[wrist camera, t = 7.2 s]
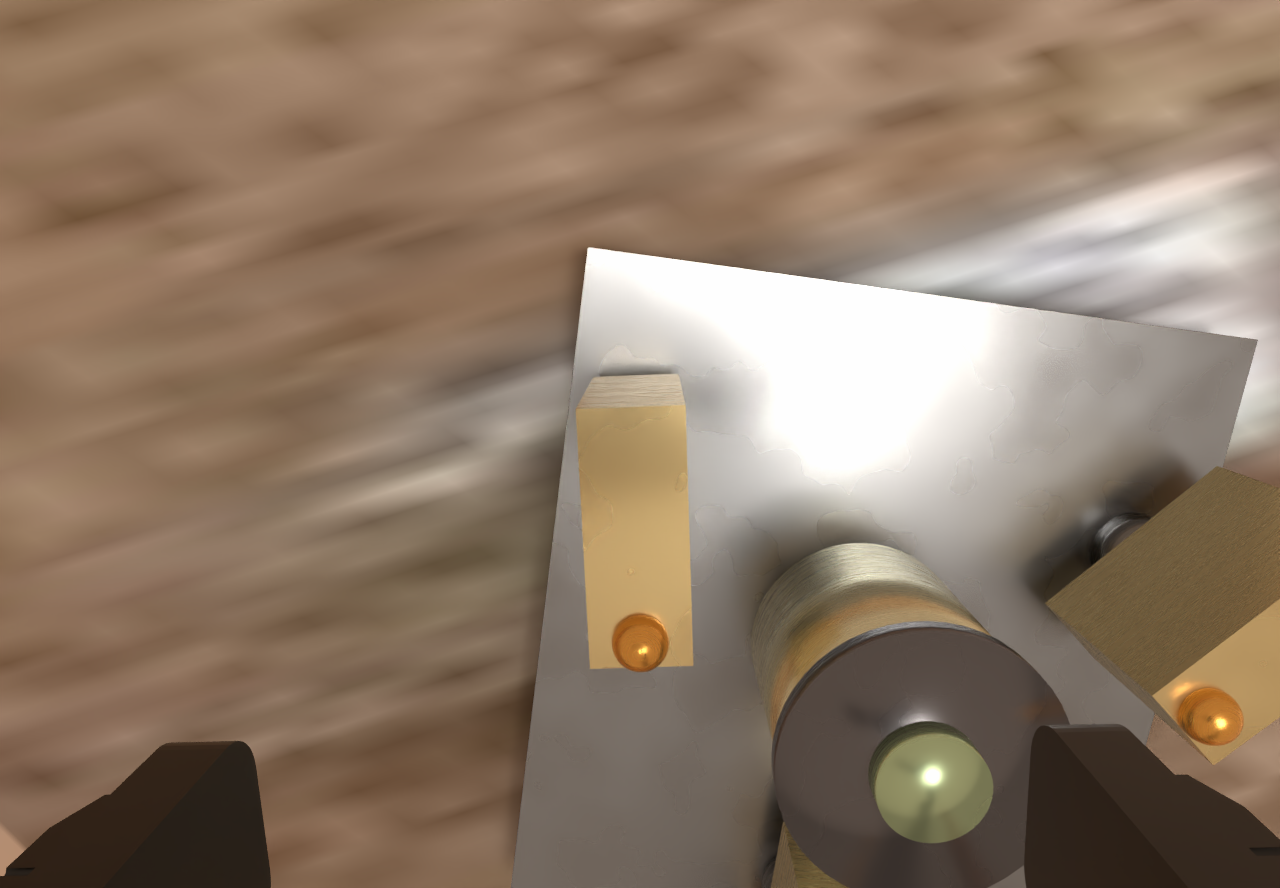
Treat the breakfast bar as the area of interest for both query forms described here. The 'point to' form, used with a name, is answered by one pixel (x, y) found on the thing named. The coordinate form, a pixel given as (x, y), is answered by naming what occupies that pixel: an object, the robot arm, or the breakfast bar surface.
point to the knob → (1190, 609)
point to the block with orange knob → (794, 868)
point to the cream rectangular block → (635, 522)
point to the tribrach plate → (835, 471)
